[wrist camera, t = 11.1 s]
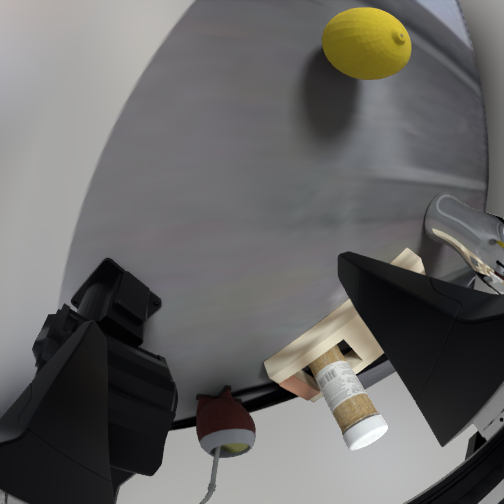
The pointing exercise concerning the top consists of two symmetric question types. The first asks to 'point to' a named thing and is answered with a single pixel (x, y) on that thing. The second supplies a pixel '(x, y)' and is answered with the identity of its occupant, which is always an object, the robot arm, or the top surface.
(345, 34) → the lemon
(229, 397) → the mate gourd
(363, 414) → the sprinkles bottle
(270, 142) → the top surface
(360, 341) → the beige wooden flat tray
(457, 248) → the beer glass
